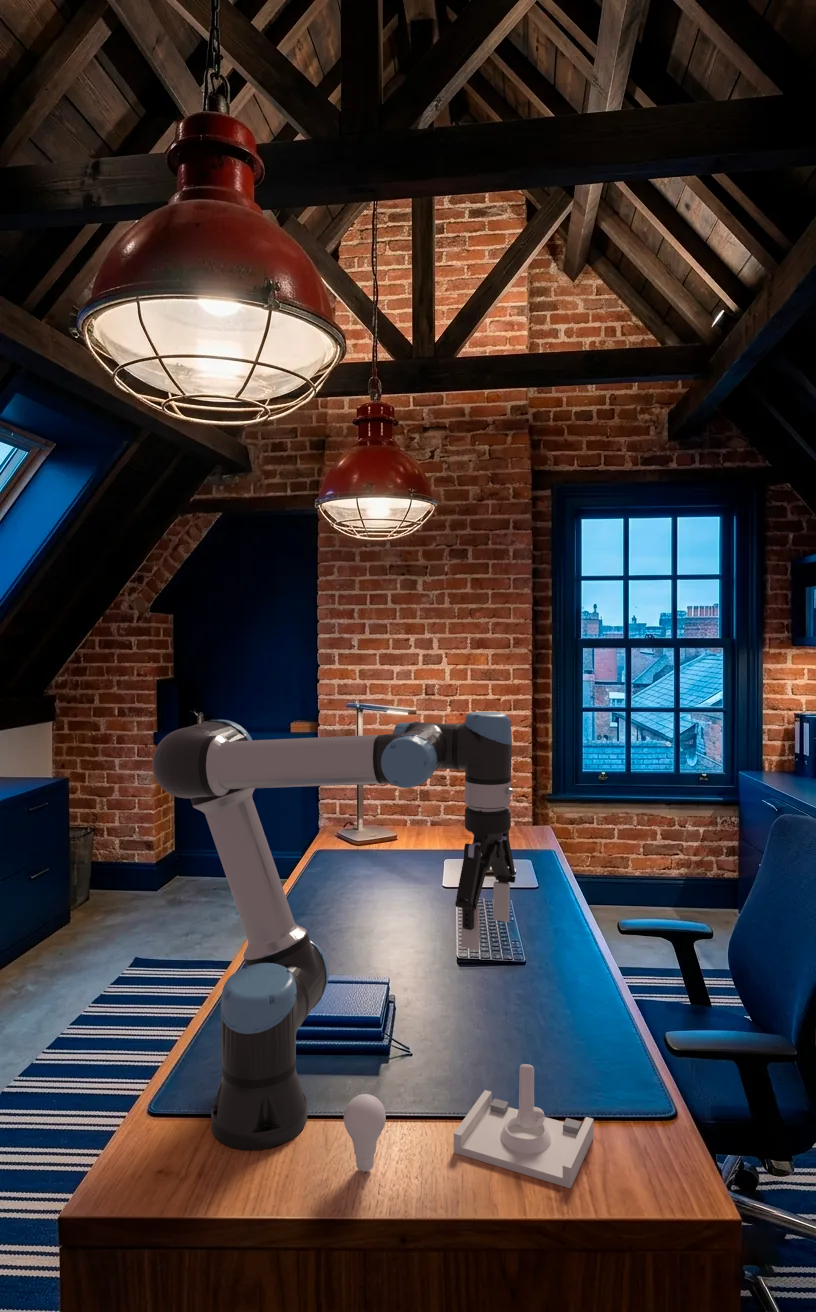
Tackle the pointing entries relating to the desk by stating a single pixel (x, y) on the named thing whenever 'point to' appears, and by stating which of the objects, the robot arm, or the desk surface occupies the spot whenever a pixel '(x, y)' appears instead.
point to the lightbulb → (364, 1127)
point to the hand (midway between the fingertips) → (486, 933)
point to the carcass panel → (485, 1144)
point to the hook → (526, 1117)
